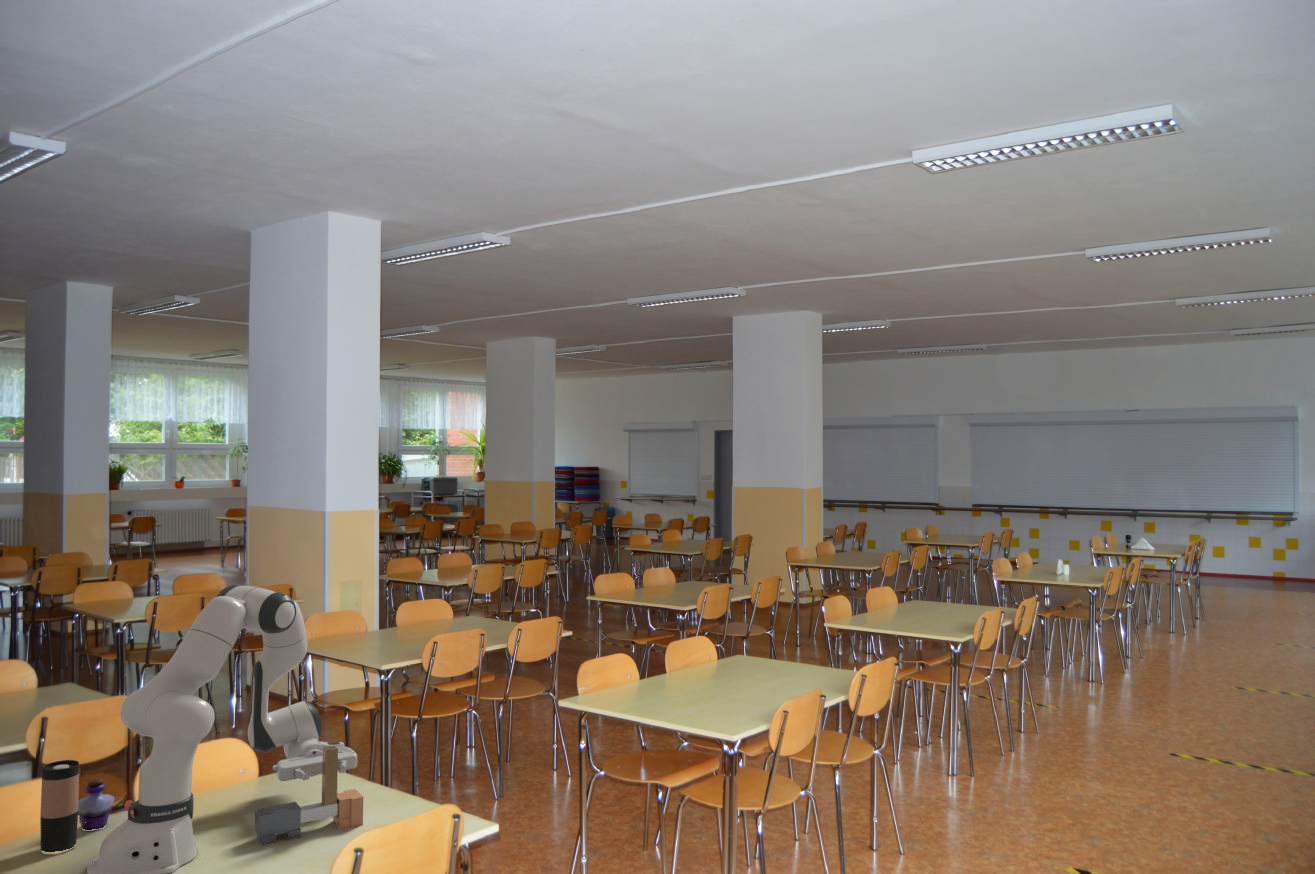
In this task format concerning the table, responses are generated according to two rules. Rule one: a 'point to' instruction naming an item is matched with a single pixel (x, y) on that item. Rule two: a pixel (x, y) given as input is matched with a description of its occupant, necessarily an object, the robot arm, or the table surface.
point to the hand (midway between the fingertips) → (324, 773)
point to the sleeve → (278, 822)
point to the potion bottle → (95, 806)
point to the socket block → (349, 809)
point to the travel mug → (59, 805)
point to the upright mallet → (325, 789)
